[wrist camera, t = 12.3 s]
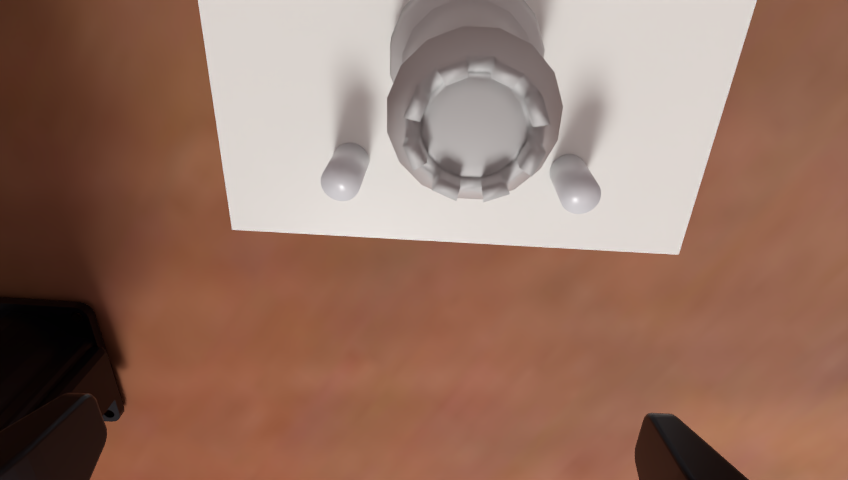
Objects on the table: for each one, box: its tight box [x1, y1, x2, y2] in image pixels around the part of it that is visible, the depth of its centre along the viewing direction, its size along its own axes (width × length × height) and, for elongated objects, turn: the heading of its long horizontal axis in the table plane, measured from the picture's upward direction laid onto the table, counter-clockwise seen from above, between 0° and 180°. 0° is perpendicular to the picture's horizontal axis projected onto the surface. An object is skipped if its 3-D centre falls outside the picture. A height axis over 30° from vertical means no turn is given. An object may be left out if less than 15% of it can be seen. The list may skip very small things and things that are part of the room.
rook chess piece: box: [387, 0, 563, 202], centre depth 13 cm, size 4×4×8 cm
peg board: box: [198, 0, 757, 255], centre depth 16 cm, size 16×13×3 cm
